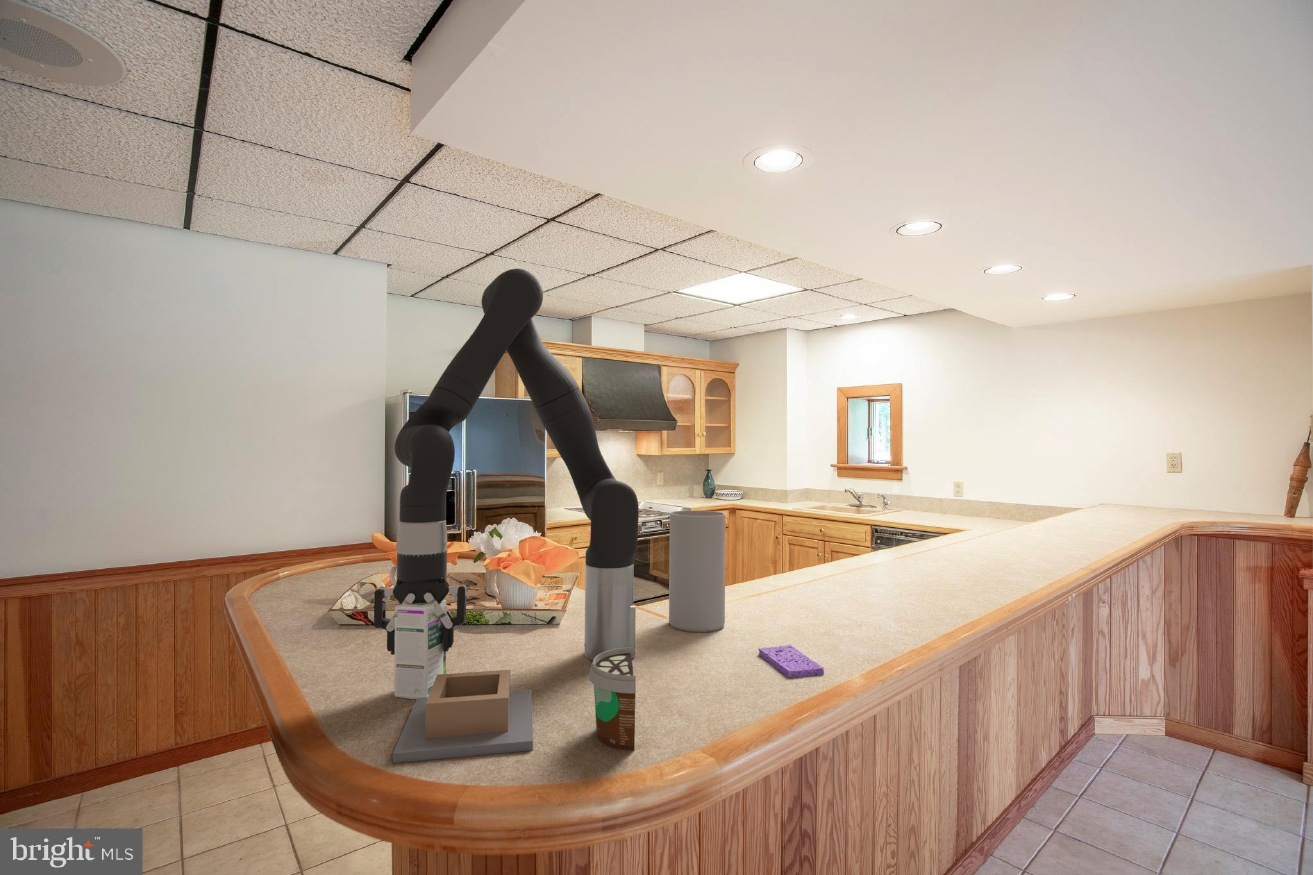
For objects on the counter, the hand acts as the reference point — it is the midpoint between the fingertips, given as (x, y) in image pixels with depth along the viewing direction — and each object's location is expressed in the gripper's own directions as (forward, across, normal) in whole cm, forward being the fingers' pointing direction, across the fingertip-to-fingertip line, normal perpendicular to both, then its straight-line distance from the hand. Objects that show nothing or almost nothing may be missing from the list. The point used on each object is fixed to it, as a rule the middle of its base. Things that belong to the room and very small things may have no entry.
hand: (420, 651), depth 97 cm
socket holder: (+6, -9, +14) cm, 18 cm away
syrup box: (+7, 0, 0) cm, 7 cm away
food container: (+7, -28, +20) cm, 35 cm away
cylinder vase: (+7, -54, -28) cm, 61 cm away
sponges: (+7, -64, -1) cm, 65 cm away
